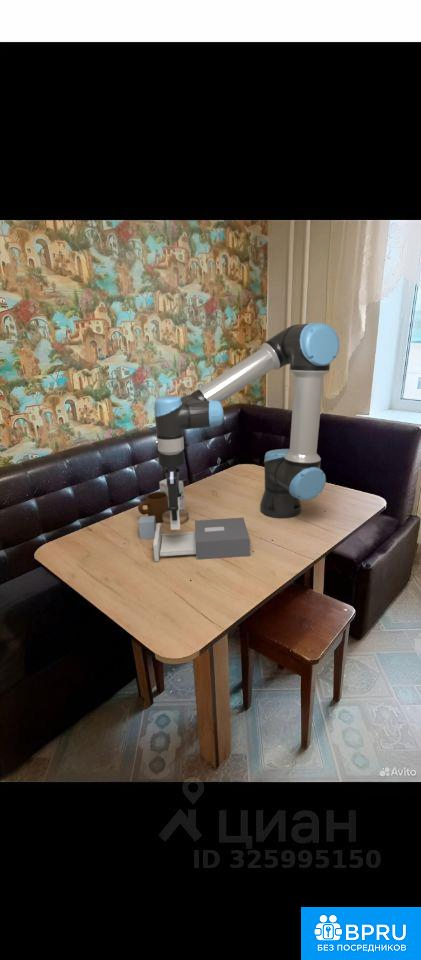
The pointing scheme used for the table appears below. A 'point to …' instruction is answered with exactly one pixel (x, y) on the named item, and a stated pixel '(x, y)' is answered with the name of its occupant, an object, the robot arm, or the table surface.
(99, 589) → the table surface
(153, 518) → the block
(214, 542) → the housing
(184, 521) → the coaster
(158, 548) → the tray
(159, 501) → the mug
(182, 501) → the ink box
